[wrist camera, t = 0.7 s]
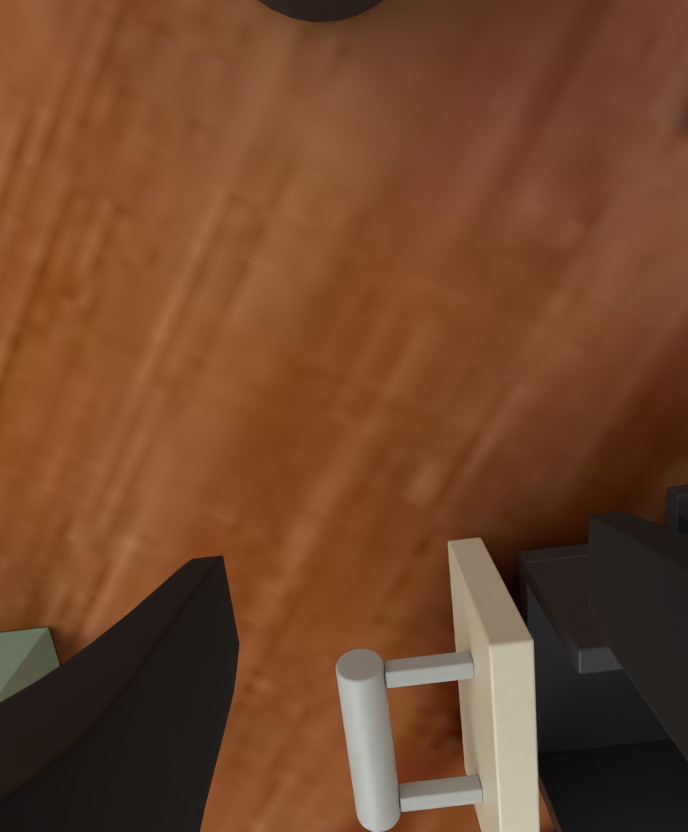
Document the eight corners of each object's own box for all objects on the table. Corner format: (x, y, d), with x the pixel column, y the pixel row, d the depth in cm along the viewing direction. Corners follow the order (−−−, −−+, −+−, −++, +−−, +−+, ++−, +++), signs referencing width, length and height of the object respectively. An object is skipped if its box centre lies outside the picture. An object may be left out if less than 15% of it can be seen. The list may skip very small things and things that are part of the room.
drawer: (358, 780, 24) (368, 939, 18) (326, 554, 21) (326, 664, 16) (774, 732, 24) (907, 879, 18) (799, 498, 21) (966, 589, 15)
